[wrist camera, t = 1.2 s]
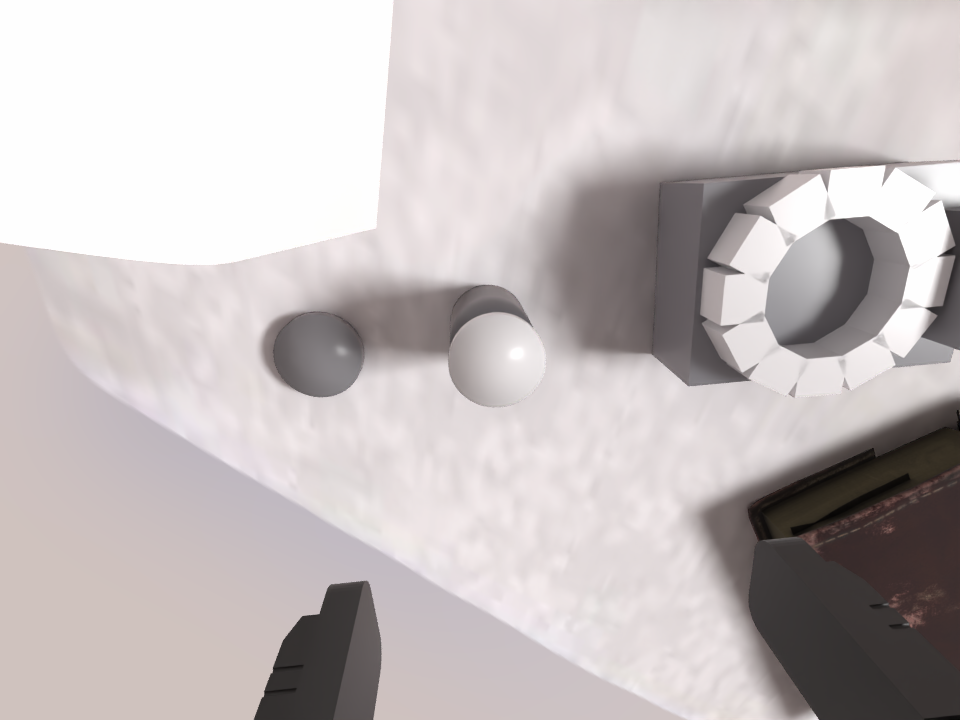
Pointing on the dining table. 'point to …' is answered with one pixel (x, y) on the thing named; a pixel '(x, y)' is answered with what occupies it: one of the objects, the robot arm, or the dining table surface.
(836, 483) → the diary
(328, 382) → the grey round disc
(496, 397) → the lens
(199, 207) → the milk
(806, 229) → the camera body
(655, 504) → the dining table surface
